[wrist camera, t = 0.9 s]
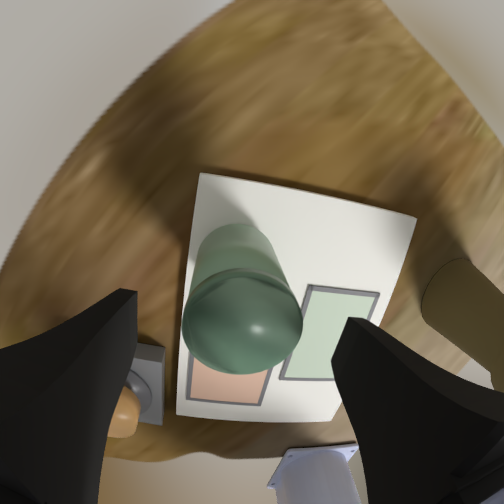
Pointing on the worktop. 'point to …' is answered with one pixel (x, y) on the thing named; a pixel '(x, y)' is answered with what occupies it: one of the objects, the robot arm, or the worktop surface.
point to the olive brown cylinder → (468, 314)
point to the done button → (125, 415)
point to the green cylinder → (240, 304)
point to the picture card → (296, 293)
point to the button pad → (148, 382)
